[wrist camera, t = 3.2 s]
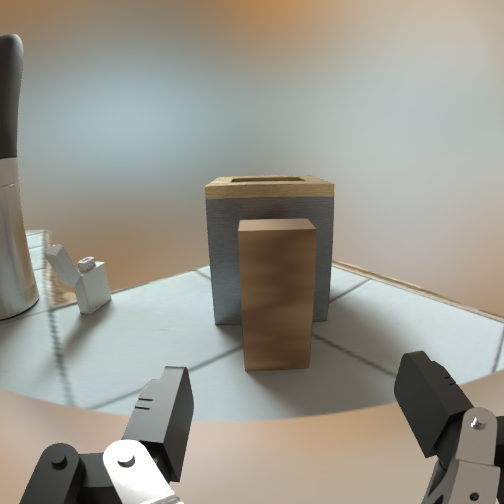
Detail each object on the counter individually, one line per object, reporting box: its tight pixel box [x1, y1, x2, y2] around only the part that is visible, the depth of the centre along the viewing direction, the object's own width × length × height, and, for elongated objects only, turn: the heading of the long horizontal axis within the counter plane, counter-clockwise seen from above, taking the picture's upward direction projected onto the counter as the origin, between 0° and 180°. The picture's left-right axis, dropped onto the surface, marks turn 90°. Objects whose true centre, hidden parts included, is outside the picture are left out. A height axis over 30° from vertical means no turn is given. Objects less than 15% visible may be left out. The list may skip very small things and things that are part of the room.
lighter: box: [45, 245, 111, 315], centre depth 28 cm, size 7×2×8 cm, turn 169°
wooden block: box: [238, 219, 316, 371], centre depth 21 cm, size 4×3×10 cm, turn 90°
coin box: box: [205, 175, 334, 324], centre depth 30 cm, size 10×10×12 cm
